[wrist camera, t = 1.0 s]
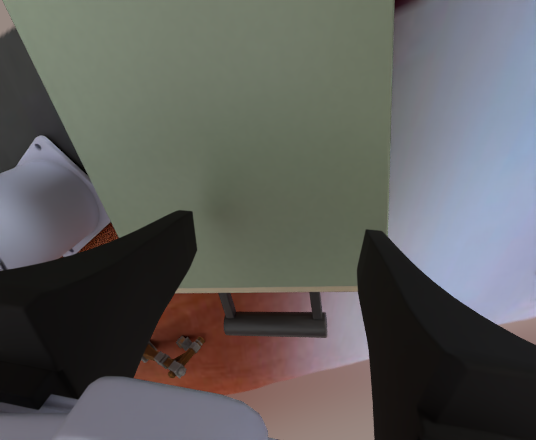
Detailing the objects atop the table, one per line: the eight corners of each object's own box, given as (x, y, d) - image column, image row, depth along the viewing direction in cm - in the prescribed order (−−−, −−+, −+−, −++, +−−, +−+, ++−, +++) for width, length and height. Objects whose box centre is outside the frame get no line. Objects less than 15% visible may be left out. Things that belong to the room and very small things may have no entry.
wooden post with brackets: (212, 346, 31) (182, 386, 28) (171, 331, 36) (142, 364, 33) (204, 335, 30) (172, 375, 27) (163, 321, 36) (133, 354, 33)
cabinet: (367, 208, 21) (386, 286, 15) (194, 220, 24) (143, 289, 18) (364, -84, 14) (401, -208, 7) (116, -13, 17) (-25, -52, 10)
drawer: (361, 282, 24) (371, 352, 18) (216, 285, 27) (189, 345, 21) (354, -23, 14) (370, -63, 9) (132, 30, 17) (45, 24, 12)
